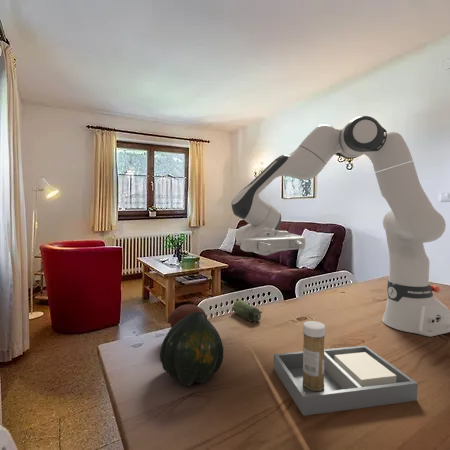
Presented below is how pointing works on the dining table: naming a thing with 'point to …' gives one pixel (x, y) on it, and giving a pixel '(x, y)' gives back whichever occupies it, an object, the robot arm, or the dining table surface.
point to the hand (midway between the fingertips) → (286, 246)
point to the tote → (340, 384)
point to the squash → (192, 350)
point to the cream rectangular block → (365, 369)
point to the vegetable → (247, 311)
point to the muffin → (183, 313)
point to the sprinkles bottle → (313, 355)
